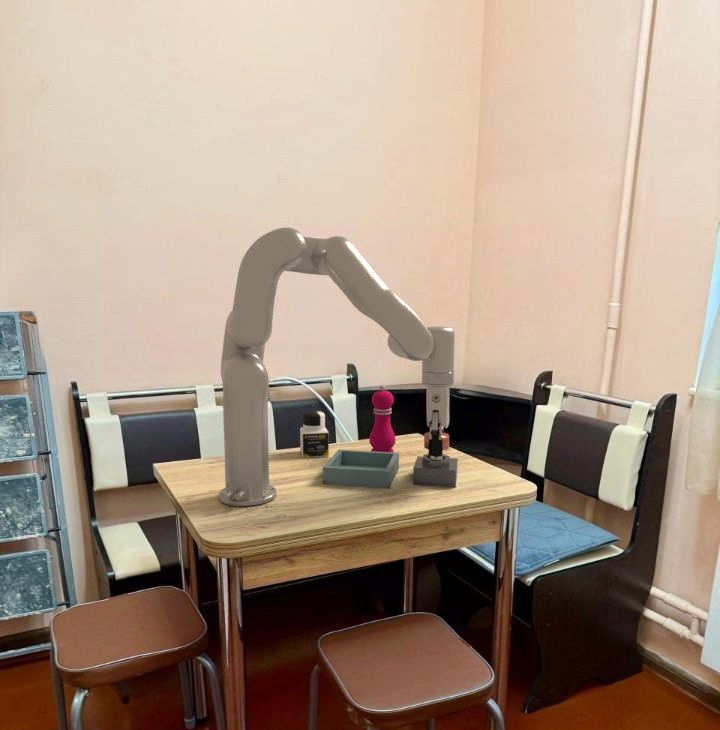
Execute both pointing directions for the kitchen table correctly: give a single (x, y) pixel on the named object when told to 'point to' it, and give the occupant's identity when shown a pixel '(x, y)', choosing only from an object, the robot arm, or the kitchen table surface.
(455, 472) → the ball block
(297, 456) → the kitchen table surface
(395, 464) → the tray
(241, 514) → the kitchen table surface
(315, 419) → the medicine bottle
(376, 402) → the pepper mill
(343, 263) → the robot arm
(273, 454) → the kitchen table surface
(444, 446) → the rounded copper knob
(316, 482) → the kitchen table surface
